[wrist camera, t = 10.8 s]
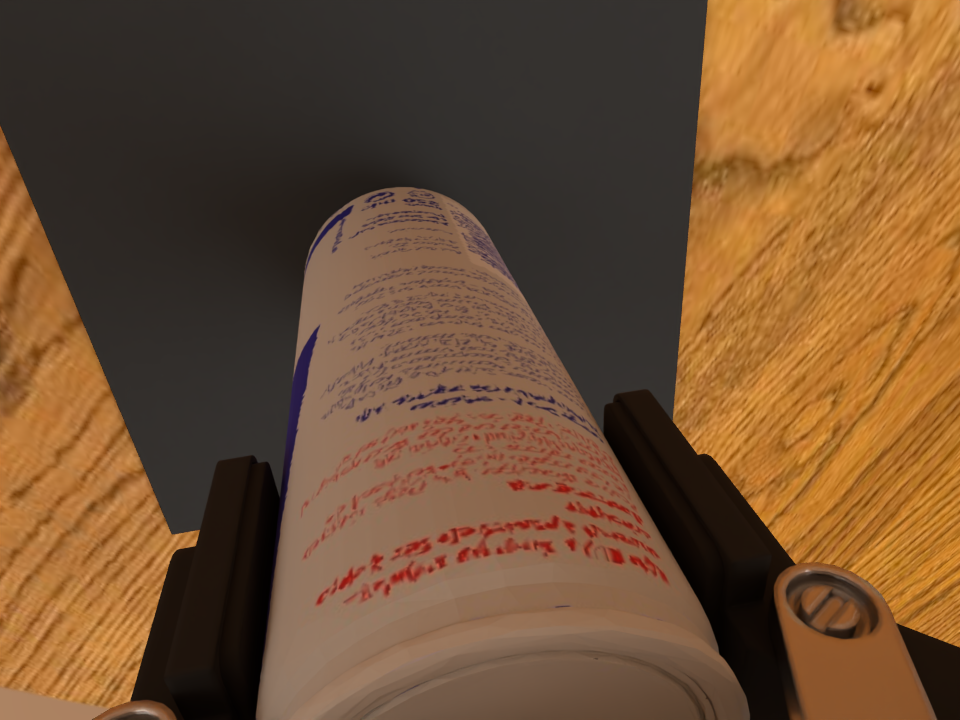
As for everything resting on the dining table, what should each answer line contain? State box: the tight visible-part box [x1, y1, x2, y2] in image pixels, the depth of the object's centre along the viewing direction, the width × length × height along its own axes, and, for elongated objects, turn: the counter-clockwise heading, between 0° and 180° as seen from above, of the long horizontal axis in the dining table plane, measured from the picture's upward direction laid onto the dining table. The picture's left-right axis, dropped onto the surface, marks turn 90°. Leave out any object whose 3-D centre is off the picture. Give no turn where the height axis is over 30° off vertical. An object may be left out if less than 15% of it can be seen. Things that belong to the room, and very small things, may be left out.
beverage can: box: [255, 187, 750, 720], centre depth 14 cm, size 6×6×15 cm
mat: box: [0, 0, 708, 534], centre depth 22 cm, size 20×20×1 cm
